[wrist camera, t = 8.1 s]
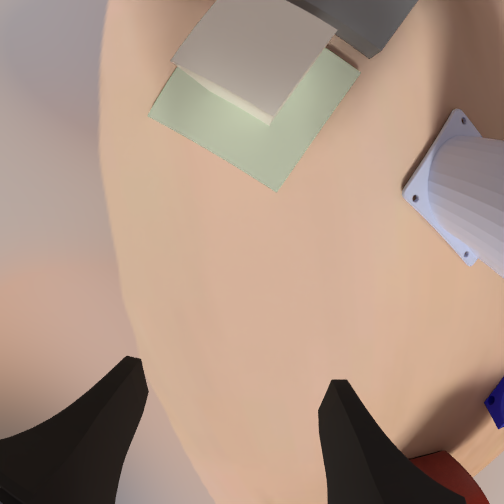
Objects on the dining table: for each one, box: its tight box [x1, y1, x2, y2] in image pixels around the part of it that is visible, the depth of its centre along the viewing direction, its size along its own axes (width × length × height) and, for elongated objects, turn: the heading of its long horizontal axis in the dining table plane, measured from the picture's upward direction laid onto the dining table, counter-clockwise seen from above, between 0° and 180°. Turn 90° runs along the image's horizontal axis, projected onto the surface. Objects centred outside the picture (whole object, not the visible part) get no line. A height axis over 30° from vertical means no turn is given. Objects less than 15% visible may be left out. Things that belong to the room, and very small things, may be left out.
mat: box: [148, 48, 361, 193], centre depth 14 cm, size 9×9×1 cm
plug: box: [171, 0, 338, 126], centre depth 10 cm, size 4×4×7 cm
